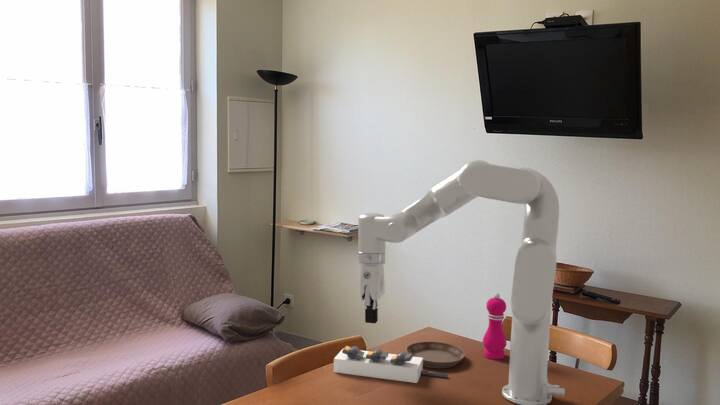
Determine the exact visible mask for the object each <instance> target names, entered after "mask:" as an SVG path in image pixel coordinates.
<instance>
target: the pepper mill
mask: <svg viewBox="0 0 720 405" xmlns="http://www.w3.org/2000/svg"><path fill="white" fill-rule="evenodd" d="M485 307H486V310H487V315H486V316H487V318H488V327H487V329H486V331H485V332H484V335H483V338H482V346H484V349H483V356H484V357H485V358H487V359H490V360H494V361H497V360H503V359H504V358H505V350H504V349H505V348H506V346H507V338H506V335H505V332H504V330H503V320H504V319H505V314H504V313H505V312H506V310H507V303H506V302H505V300H503V299H502V298H501V297H500V294H499V293H498V292H495V293H494V294H493V297H491V298H489V299H488V300H487V302H486V306H485Z"/></svg>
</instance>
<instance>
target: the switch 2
mask: <svg viewBox="0 0 720 405" xmlns="http://www.w3.org/2000/svg"><path fill="white" fill-rule="evenodd" d="M412 357H413V355H412V353H409V354H408V353H407V352H405V351H400V352H399V353H398V354H396V356H393V357H392V358H391V360H390V361H391V364H393V363H397V364H398V365H403V364H404V363H405V362H407V361H411V359H412Z"/></svg>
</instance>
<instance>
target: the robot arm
mask: <svg viewBox="0 0 720 405" xmlns="http://www.w3.org/2000/svg"><path fill="white" fill-rule="evenodd" d="M478 197H480V198H485V199H489V200H495V201H501V202H506V203H510V204H512V203H513V204H516V205H524V217H523V223H522V224H523V225H522V226H523V227H522V236H521V241H520V245H519V248H518V250H517V253H516V256H515V263H514V270H513V278H512V279H513V280H512V287H511V296H510V309H511V315H512V316H511V332H510V347H509V348H510V349H509V350H510V351H509V368H508V384H506V385H504V386H503V387H502V390H501V394H502V396H503V397H504V399H506V400H508V401H509V402H511V403H514V404H515V405H516V404H517V405H548V404H549V403H551V402H552V397H553V395H554V396H558V397H559V396H560V397H565V394H566V393H565V391H566V389H565V388H562V387H560V385H558V384H551V383H549V380H548V379H549V378H548V363H549V362H548V361H549V360H548V358H549V343H550V332H551V330H550V329H551V328H550V327H551V314H552V302H553V295H554V294H553V292H554V285H555V279H556V277H555V276H556V271H557V270H556V269H557V260H558V259H557V258H558V257H557V240H558V233H559V232H558V231H559V222H560V221H559V220H560V202H559V196H558V194H557V191H556V189H555V187H554V185H553V184H552V183H551V181H550V180H549V178H547V177H546V176H545V175H543V174H542V173H541V172H539V171H538V170H535V169H534V168H531V167H525V166H524V167H519V168H517V167H516V168H515V167H510V166H509V167H508V166H502V165H497V164H491V163H489V162H488V161H485V160H482V159H476V160H473V161H469V162H467V163H466V164H464V165H463V167H461V168H460V169H458V171H455V172H454V173H453V174H451V175H449V176H448V177H446V178H444V179H443V180H442V181H439V183H437V184H436V185H434V186H432V187H431V188H430V189H428V191H427V193H426V194H425V195H423V196H422V197H421V198H419V199H418V200H417V201H415V202H414V203H412V204H411V205H409V206H407V207H406V208H404V209H402V210H401V211H399V212H398V213H395V214H392V215H389V216H388V215H387V216H385V215H384V214H381V213H375V212H368V213H363V214H360V215H359V216H358V219H357V220H358V221H357V222H358V225H357V227H358V232H357V233H358V234H357V236H358V237H357V238H358V239H357V240H358V241H357V242H358V243H357V244H358V245H357V246H358V253H357V254H358V256H357V262H358V263H357V264H359V265H360V278H359V280H360V281H359V284H360V285H359V293H360V294H359V298H360V299H361V300H362V301H364V311H365V312H364V315H365V316H364V322H365V323H367V324H377V322H378V319H379V318H378V316H379V315H378V314H379V313H378V312H379V310H378V306H379V300H380V299H381V298H382V297H383V296H384V294H385V290H386V289H385V288H386V286H385V270H384V269H385V268H384V265H385V264H386V242H387V243H393V244H399V243H402V242H404V241H406V240H407V239H409V238H411V237H412V236H413V235H416V234H418V232H420V231H422V230H423V229H425V228H427V227H428V226H429V225H431V224H433V223H435V222H436V221H437V220H439V219H442V218H445V217H447V216H449V215H451V214H452V213H454V212H455V211H457V210H459V209H460V208H462V207H464V206H465V205H467V204H468V203H470V202H471V201H473V200H475V199H476V198H478Z"/></svg>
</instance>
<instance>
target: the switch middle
mask: <svg viewBox="0 0 720 405" xmlns="http://www.w3.org/2000/svg"><path fill="white" fill-rule="evenodd" d="M388 354H389V352H388V351H383V350H382V349H380V348H376V349H375V350H374V351H373V350H369V352H368V353H367V355H366V359H372V361H374V362H378V361H379V360H386V358H387V357H388Z"/></svg>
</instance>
